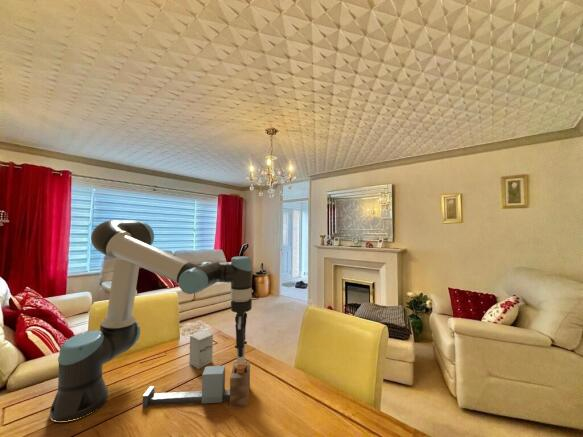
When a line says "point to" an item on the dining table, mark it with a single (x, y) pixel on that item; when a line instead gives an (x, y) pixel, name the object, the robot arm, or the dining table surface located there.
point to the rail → (175, 397)
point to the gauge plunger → (240, 368)
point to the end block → (239, 387)
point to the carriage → (213, 384)
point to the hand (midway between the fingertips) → (240, 363)
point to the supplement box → (201, 349)
